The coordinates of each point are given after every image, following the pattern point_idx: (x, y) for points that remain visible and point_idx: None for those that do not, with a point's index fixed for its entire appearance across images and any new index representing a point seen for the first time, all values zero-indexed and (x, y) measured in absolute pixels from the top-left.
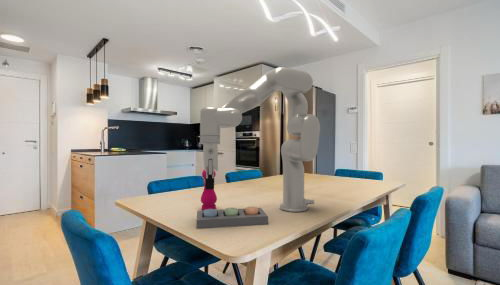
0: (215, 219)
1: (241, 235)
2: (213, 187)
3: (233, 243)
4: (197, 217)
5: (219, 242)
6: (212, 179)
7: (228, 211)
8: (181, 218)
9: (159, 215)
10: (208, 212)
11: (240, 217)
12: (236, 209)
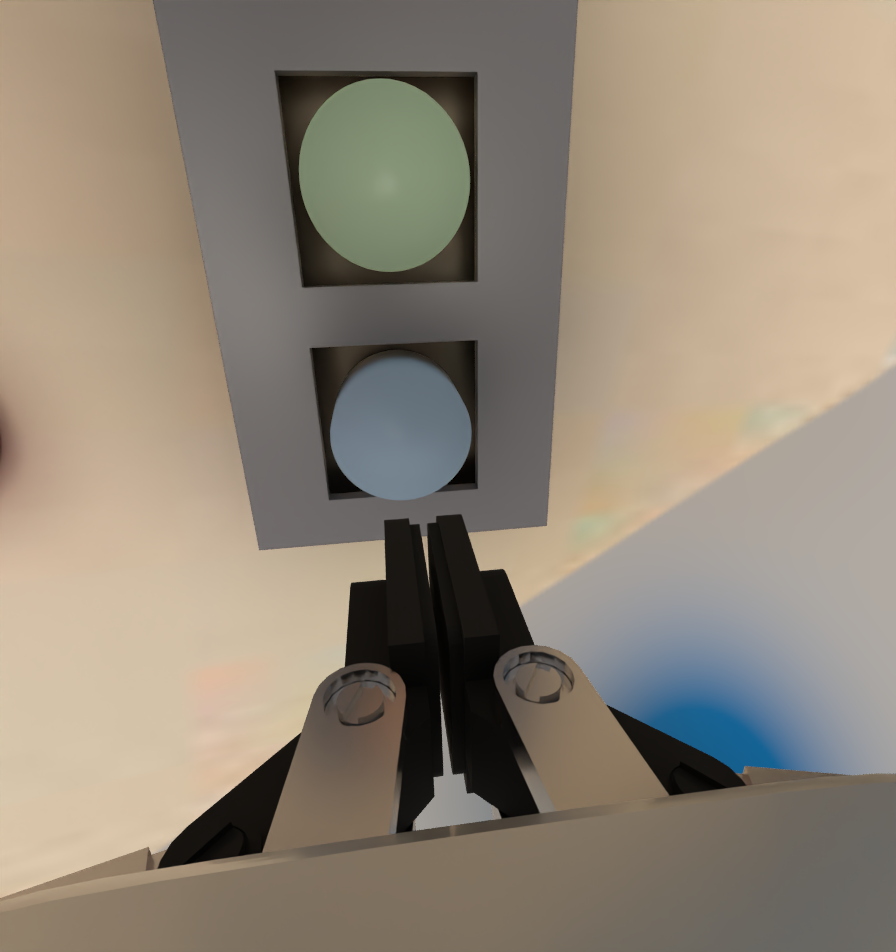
0: (553, 372)
1: (770, 139)
2: (463, 532)
3: (882, 231)
4: (473, 526)
5: (824, 331)
6: (493, 653)
7: (457, 229)
8: (268, 624)
9: (188, 766)
10: (466, 452)
11: (561, 84)
12: (392, 102)
